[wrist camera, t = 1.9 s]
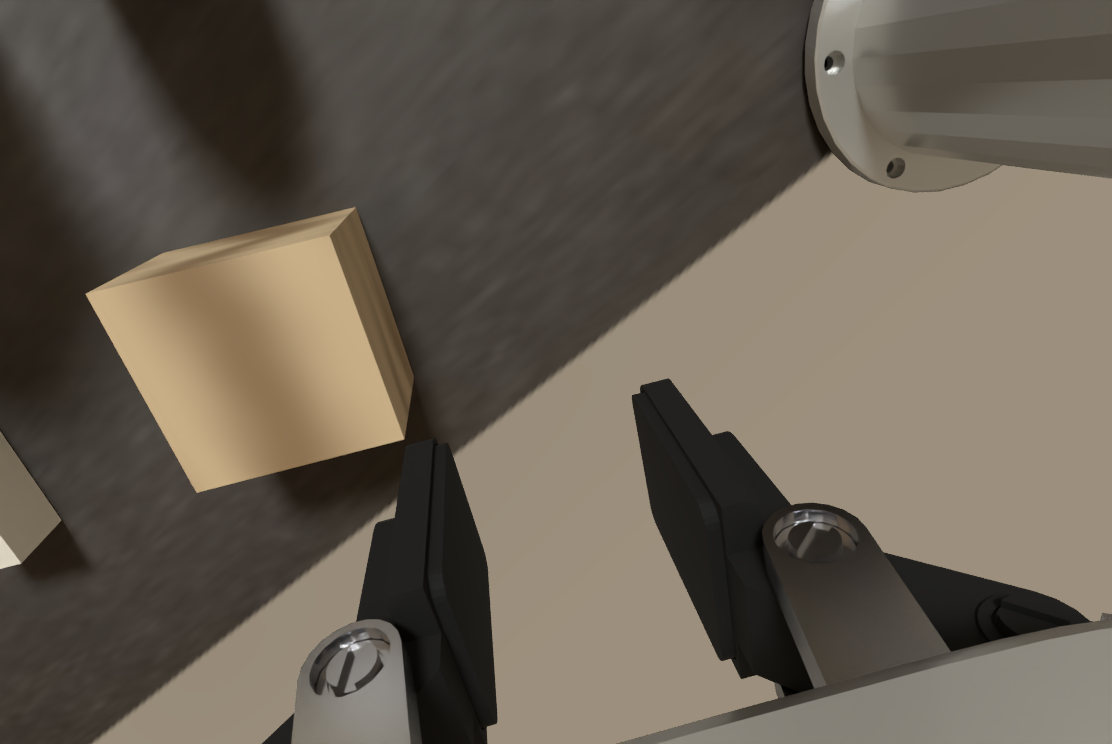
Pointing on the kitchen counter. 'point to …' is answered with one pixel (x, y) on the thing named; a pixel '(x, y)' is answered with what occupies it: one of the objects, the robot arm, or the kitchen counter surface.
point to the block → (263, 348)
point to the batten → (21, 510)
